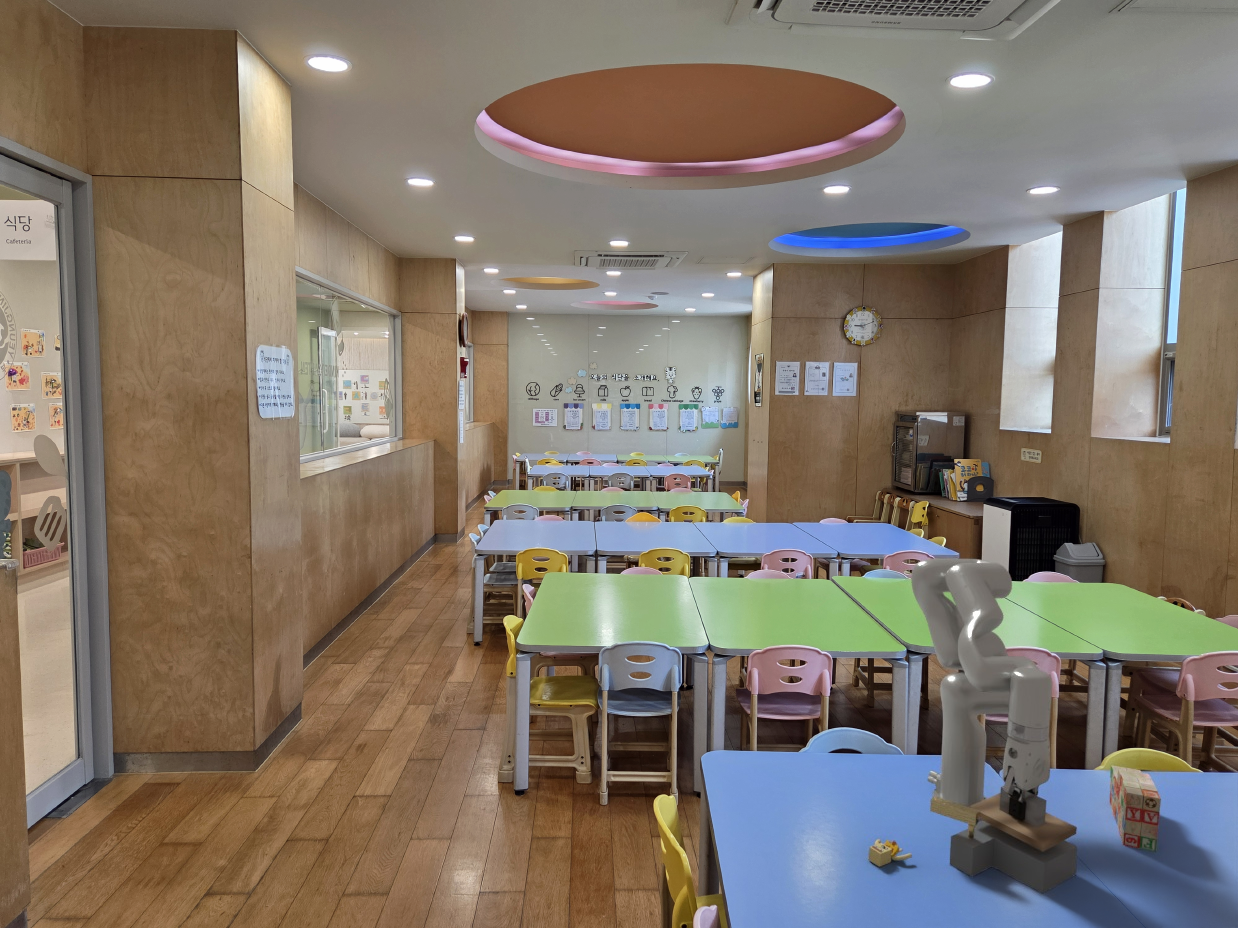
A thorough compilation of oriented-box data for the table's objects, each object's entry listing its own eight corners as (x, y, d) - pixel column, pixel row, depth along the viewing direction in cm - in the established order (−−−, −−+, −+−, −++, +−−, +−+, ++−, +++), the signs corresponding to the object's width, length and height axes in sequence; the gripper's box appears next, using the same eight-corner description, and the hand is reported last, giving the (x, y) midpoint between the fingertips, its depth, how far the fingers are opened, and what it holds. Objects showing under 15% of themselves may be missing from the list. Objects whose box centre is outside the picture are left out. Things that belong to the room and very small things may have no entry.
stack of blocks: (1108, 801, 190) (1111, 752, 189) (1139, 807, 188) (1142, 757, 187) (1123, 845, 171) (1126, 791, 170) (1157, 853, 168) (1161, 797, 167)
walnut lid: (968, 813, 167) (970, 783, 166) (1001, 798, 173) (1003, 770, 172) (1043, 851, 153) (1045, 819, 153) (1076, 833, 160) (1078, 803, 159)
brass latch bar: (974, 840, 160) (976, 814, 160) (929, 824, 166) (930, 799, 165) (977, 836, 162) (978, 810, 161) (932, 820, 167) (933, 795, 167)
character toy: (914, 846, 163) (889, 857, 159) (913, 861, 163) (889, 873, 159) (882, 828, 170) (858, 839, 165) (882, 843, 170) (857, 854, 166)
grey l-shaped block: (947, 862, 163) (948, 834, 163) (1001, 837, 173) (1002, 811, 173) (1021, 904, 150) (1023, 874, 149) (1075, 874, 160) (1077, 846, 159)
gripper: (1022, 745, 154) (1016, 834, 155) (1068, 727, 162) (1061, 812, 164) (987, 731, 160) (981, 817, 162) (1032, 714, 169) (1026, 796, 170)
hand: (1021, 813), depth 163 cm, fingers closed on walnut lid, 3 cm apart
